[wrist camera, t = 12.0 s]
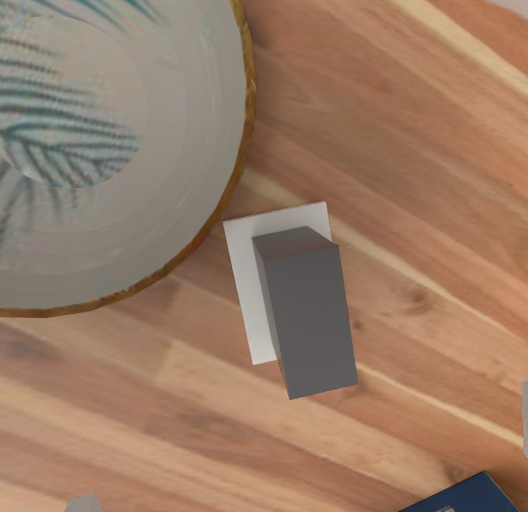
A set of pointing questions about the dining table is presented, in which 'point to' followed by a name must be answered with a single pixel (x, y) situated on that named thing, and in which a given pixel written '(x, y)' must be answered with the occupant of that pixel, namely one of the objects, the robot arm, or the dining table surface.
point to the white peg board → (246, 266)
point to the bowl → (115, 143)
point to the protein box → (468, 498)
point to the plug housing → (306, 310)
